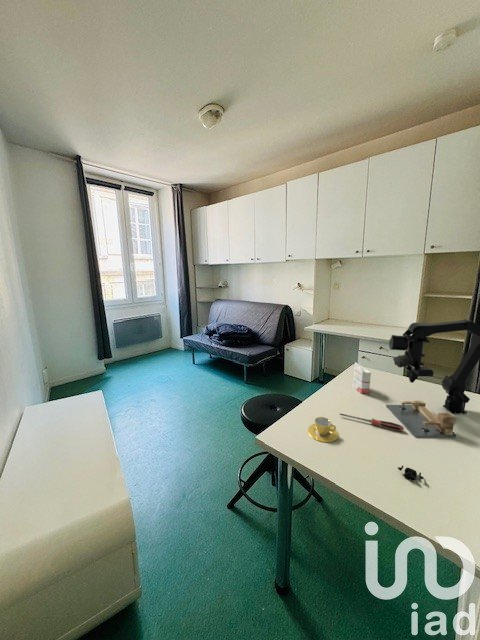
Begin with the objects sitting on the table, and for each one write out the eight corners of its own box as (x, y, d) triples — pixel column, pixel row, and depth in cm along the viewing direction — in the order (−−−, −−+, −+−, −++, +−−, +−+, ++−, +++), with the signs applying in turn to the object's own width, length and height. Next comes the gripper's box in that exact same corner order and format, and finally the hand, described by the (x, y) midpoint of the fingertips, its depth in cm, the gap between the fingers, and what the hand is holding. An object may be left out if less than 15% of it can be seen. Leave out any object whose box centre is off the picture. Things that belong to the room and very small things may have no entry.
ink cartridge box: (369, 393, 136) (372, 367, 132) (361, 393, 135) (362, 367, 132) (360, 385, 144) (362, 361, 141) (352, 386, 143) (353, 361, 140)
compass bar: (419, 404, 121) (420, 398, 121) (455, 434, 100) (456, 427, 99) (396, 404, 122) (397, 398, 121) (427, 434, 101) (428, 427, 100)
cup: (305, 438, 103) (305, 426, 102) (310, 421, 113) (310, 410, 112) (337, 446, 98) (338, 433, 97) (339, 427, 109) (339, 416, 108)
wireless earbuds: (424, 473, 83) (423, 478, 79) (423, 481, 83) (422, 486, 79) (399, 463, 87) (397, 467, 83) (398, 470, 87) (396, 475, 83)
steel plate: (420, 406, 122) (421, 404, 121) (456, 437, 100) (457, 434, 100) (386, 406, 123) (386, 404, 122) (414, 437, 101) (414, 434, 101)
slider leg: (447, 427, 104) (449, 413, 103) (452, 432, 101) (455, 417, 100) (420, 427, 105) (422, 413, 103) (425, 431, 102) (427, 417, 100)
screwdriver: (338, 418, 115) (338, 412, 114) (339, 415, 118) (339, 409, 117) (403, 434, 103) (404, 427, 103) (403, 430, 106) (403, 423, 105)
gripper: (386, 344, 127) (384, 374, 130) (409, 358, 108) (405, 392, 112) (410, 344, 126) (406, 373, 129) (436, 358, 108) (431, 392, 111)
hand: (411, 382), depth 120 cm, fingers closed
